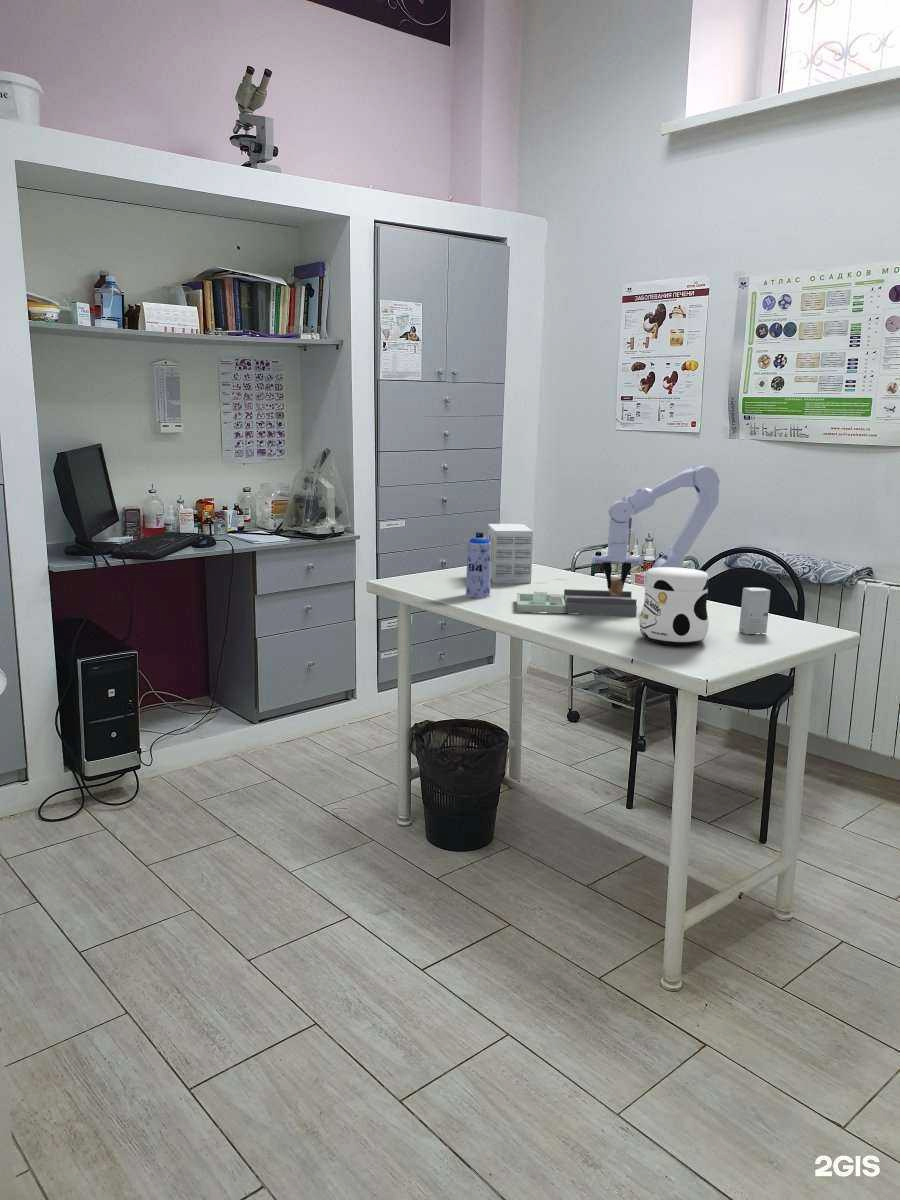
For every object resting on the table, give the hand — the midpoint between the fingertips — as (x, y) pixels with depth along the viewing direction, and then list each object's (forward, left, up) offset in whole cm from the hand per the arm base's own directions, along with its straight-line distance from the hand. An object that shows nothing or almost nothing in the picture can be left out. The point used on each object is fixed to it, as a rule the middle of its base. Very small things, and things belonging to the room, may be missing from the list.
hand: (615, 588), depth 268 cm
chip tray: (+9, +20, -6) cm, 23 cm away
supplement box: (+53, +11, -7) cm, 55 cm away
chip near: (+4, +18, -4) cm, 19 cm away
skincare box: (-35, -22, -7) cm, 42 cm away
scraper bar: (-1, 0, -1) cm, 1 cm away
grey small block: (+12, +18, -4) cm, 23 cm away
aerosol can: (+29, +32, -7) cm, 44 cm away
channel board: (+2, +4, -6) cm, 8 cm away
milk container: (-36, +4, -7) cm, 37 cm away
